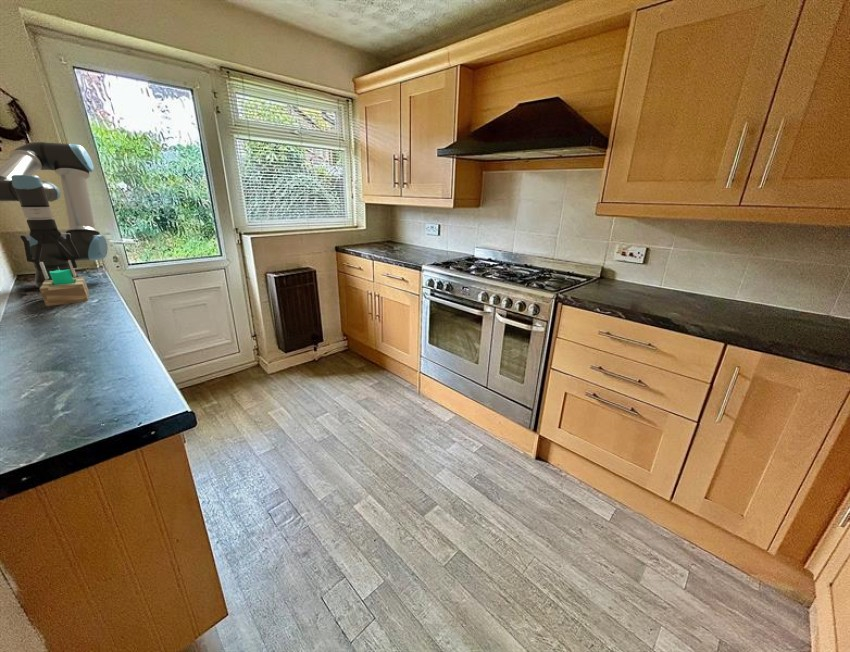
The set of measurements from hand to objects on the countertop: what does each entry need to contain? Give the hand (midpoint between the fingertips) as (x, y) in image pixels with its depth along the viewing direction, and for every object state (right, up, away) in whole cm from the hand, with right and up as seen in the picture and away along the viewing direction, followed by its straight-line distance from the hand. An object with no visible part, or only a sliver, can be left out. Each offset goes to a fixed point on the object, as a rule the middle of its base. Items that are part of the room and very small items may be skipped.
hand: (61, 277), depth 142 cm
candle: (0, -7, +3) cm, 8 cm away
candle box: (0, -9, +3) cm, 9 cm away
